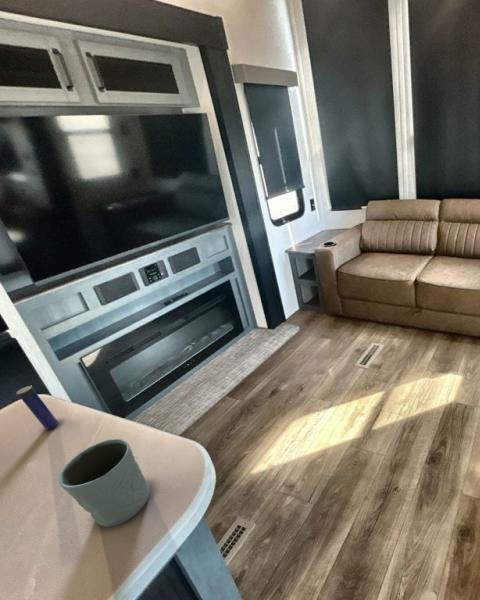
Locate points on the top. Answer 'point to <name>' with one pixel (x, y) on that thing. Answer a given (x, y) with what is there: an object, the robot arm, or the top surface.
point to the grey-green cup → (106, 482)
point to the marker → (37, 407)
